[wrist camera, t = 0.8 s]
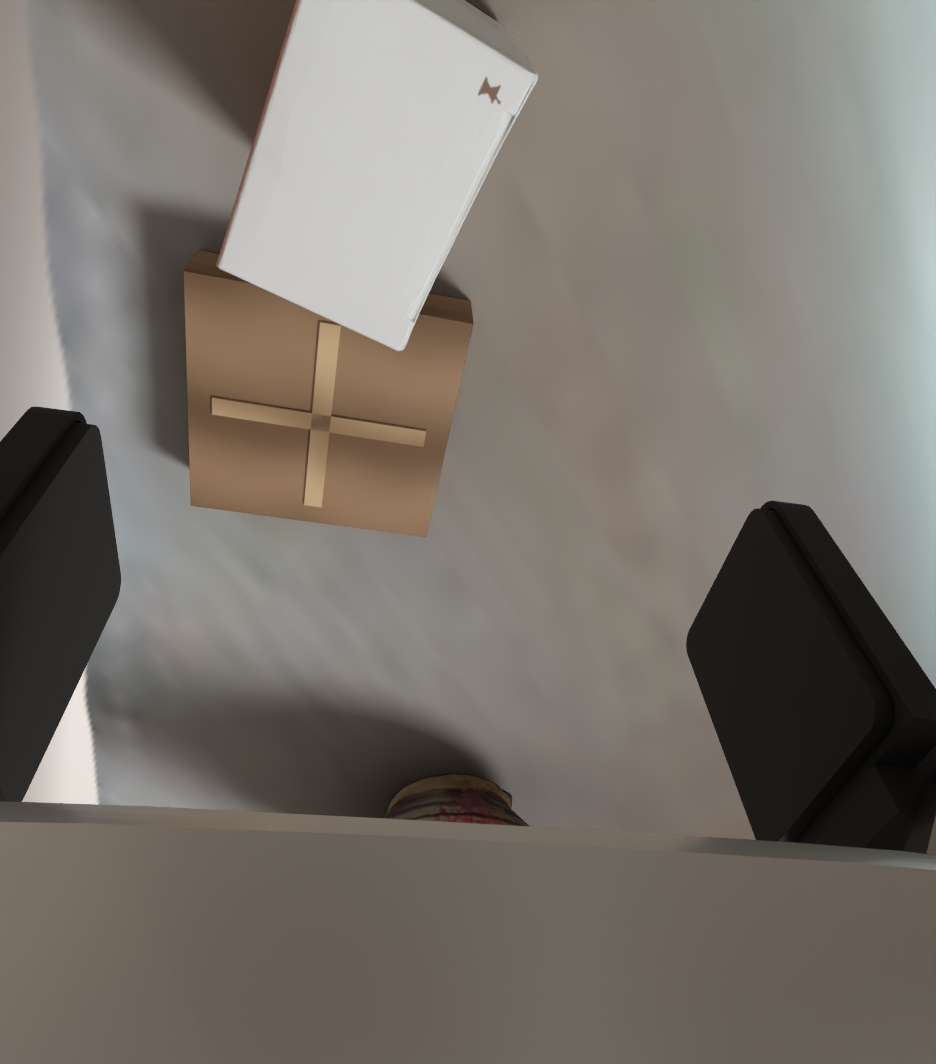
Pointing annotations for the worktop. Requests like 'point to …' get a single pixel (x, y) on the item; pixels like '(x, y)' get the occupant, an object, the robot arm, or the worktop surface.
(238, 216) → the small box
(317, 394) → the brown cardboard box
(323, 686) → the worktop surface
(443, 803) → the ceramic jug
